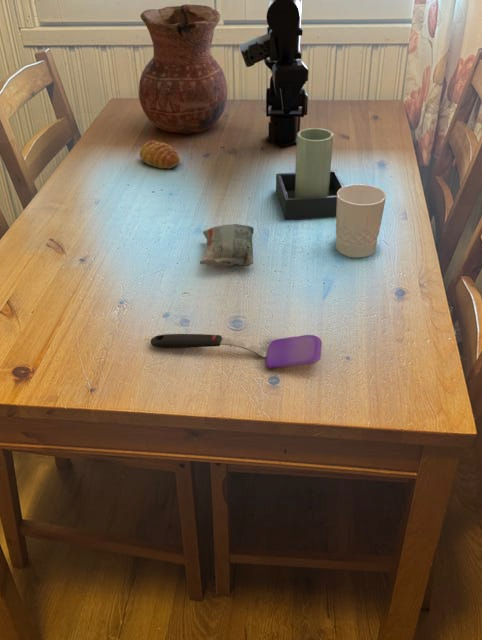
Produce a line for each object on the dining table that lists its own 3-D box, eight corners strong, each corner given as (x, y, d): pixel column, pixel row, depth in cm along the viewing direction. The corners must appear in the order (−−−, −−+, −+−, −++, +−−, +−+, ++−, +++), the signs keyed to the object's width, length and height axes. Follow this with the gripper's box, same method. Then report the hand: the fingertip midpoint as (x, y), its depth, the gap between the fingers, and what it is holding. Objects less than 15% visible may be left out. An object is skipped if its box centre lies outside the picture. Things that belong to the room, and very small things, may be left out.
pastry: (188, 164, 148) (187, 146, 146) (164, 173, 145) (163, 156, 142) (160, 152, 154) (158, 136, 151) (136, 161, 150) (134, 144, 148)
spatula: (145, 358, 95) (143, 344, 94) (157, 330, 100) (156, 316, 99) (318, 376, 92) (320, 362, 90) (322, 346, 97) (323, 331, 95)
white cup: (382, 241, 120) (389, 187, 114) (374, 263, 114) (381, 207, 108) (337, 234, 122) (342, 181, 116) (327, 256, 116) (332, 201, 110)
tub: (275, 192, 136) (276, 173, 134) (334, 189, 137) (336, 170, 134) (284, 220, 127) (285, 200, 125) (348, 216, 128) (350, 196, 125)
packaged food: (200, 275, 112) (199, 249, 109) (203, 240, 121) (203, 215, 118) (253, 276, 112) (254, 249, 109) (253, 241, 121) (253, 215, 118)
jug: (227, 140, 159) (225, 22, 143) (137, 141, 159) (125, 24, 144) (228, 108, 176) (226, 0, 161) (146, 109, 177) (137, 1, 161)
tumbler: (299, 192, 135) (303, 126, 127) (331, 196, 133) (337, 130, 125) (290, 205, 130) (292, 138, 122) (322, 210, 128) (327, 142, 120)
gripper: (237, 12, 135) (237, 93, 144) (248, 35, 120) (248, 124, 130) (293, 9, 135) (290, 91, 145) (311, 32, 121) (306, 121, 130)
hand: (282, 106), depth 138 cm, fingers open, 9 cm apart
